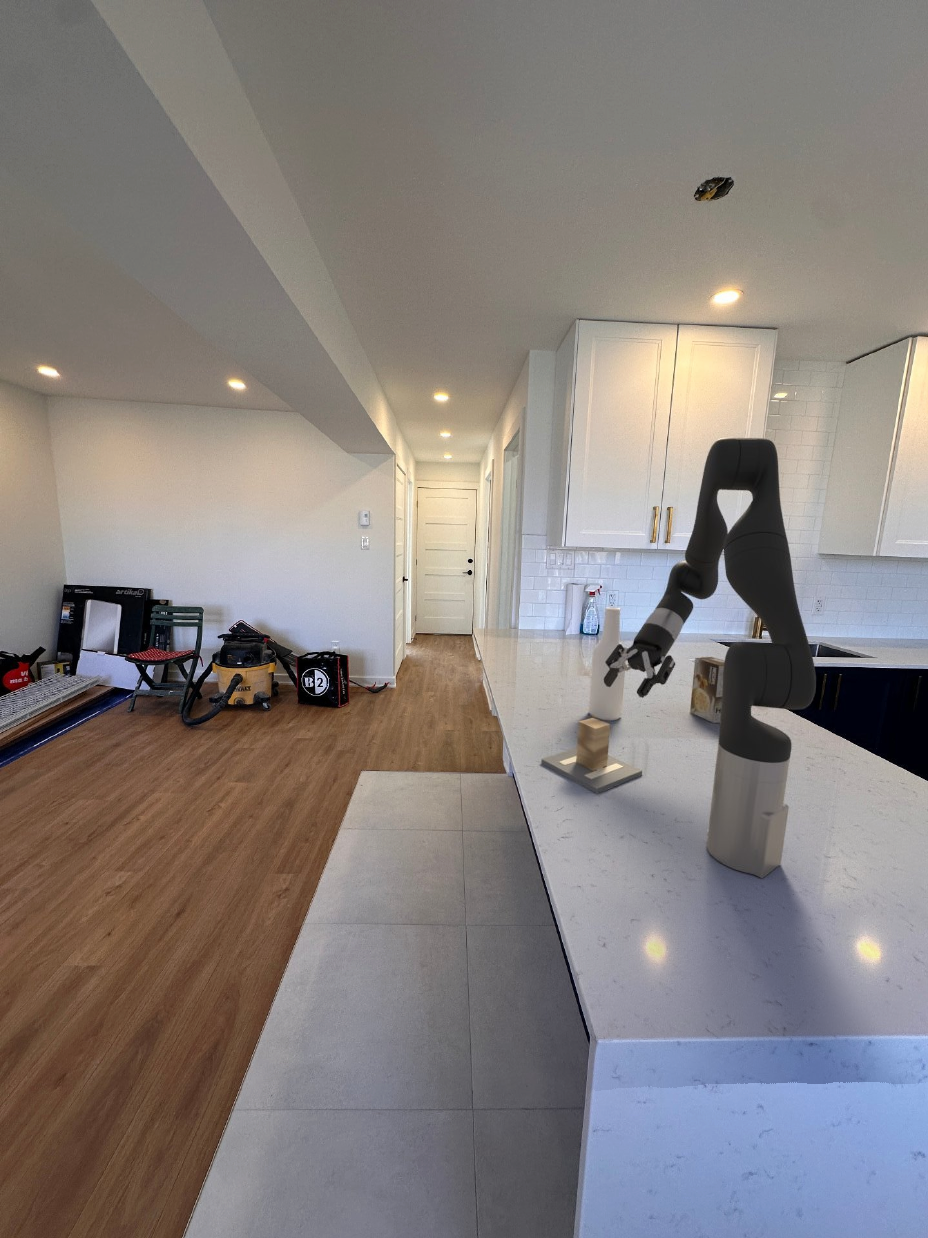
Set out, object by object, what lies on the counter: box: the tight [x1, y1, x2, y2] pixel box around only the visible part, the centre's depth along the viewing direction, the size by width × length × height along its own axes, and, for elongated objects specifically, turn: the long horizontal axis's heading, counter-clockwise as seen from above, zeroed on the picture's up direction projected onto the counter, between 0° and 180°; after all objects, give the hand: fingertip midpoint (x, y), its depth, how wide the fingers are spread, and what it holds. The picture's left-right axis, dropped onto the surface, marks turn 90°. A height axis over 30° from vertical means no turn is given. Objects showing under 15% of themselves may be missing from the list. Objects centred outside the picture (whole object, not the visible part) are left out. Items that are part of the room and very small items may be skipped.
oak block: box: [576, 717, 611, 771], centre depth 103 cm, size 4×4×9 cm
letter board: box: [540, 747, 643, 794], centre depth 103 cm, size 15×14×1 cm
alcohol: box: [588, 606, 627, 721], centre depth 134 cm, size 9×9×30 cm
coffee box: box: [689, 656, 725, 724], centre depth 136 cm, size 9×6×16 cm
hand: (622, 689), depth 106 cm, fingers open, 8 cm apart
